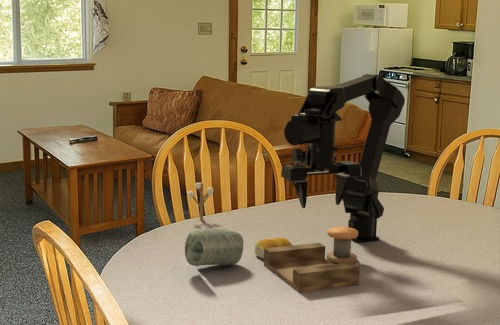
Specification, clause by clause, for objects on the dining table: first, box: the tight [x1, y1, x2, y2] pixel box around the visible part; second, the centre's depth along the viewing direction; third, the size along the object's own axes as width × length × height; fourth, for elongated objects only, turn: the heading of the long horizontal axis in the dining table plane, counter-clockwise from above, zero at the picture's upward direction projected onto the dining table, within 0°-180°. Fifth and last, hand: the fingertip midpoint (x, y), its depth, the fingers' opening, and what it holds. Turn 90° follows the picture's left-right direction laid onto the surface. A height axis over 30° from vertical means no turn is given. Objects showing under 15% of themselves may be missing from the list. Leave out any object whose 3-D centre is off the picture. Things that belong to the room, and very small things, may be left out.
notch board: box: [263, 242, 361, 293], centre depth 146 cm, size 14×18×4 cm
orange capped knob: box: [326, 226, 358, 264], centre depth 156 cm, size 7×7×7 cm
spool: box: [184, 227, 244, 267], centre depth 149 cm, size 14×10×10 cm
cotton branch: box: [187, 182, 215, 221], centre depth 185 cm, size 7×6×12 cm
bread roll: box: [254, 237, 293, 260], centre depth 158 cm, size 8×9×4 cm
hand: (320, 206), depth 159 cm, fingers open, 9 cm apart
